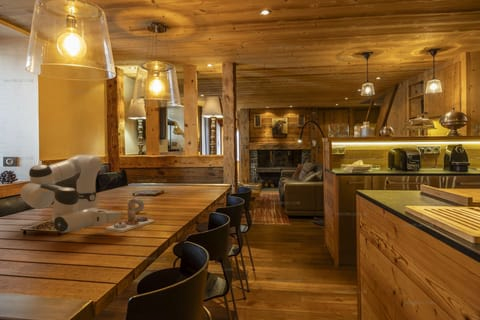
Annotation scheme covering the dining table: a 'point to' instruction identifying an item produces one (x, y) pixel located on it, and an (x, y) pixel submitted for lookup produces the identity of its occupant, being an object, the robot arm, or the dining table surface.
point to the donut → (139, 205)
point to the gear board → (123, 227)
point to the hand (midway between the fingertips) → (115, 211)
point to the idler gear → (131, 213)
